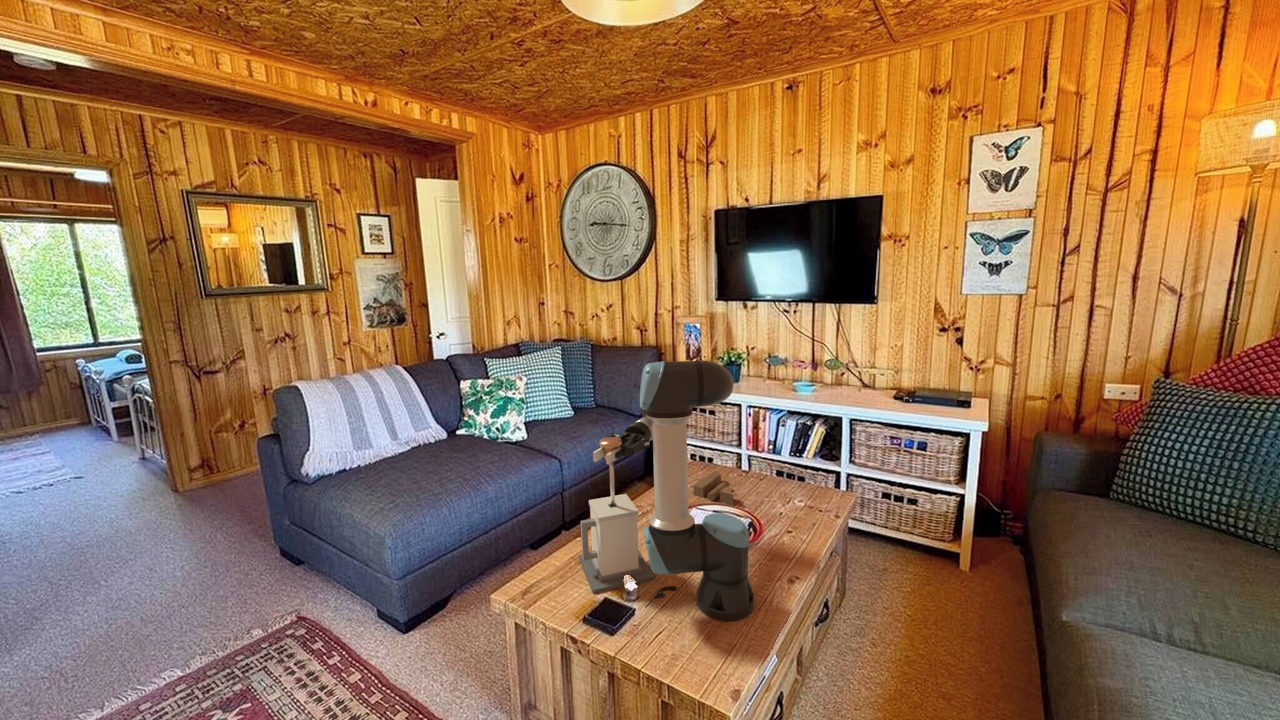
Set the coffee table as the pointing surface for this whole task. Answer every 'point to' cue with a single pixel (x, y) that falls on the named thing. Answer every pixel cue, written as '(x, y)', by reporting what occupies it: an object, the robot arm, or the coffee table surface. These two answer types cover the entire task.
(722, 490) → the wooden block set
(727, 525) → the robot arm
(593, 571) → the mat
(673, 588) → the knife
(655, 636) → the coffee table surface
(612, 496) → the plunger
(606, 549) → the press
